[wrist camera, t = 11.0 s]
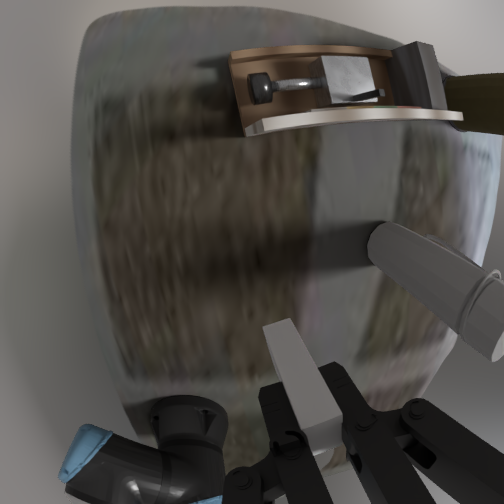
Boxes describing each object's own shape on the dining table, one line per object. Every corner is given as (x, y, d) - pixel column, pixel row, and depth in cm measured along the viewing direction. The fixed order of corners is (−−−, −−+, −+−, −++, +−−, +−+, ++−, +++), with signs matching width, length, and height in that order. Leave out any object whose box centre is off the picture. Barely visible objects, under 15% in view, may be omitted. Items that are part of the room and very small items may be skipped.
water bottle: (372, 275, 40) (483, 378, 17) (356, 234, 37) (493, 334, 14) (414, 244, 40) (531, 321, 17) (402, 203, 37) (542, 268, 14)
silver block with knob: (253, 116, 28) (272, 103, 19) (243, 71, 26) (257, 42, 17) (360, 105, 29) (405, 97, 20) (351, 64, 27) (393, 46, 18)
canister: (447, 133, 34) (546, 148, 15) (434, 74, 30) (532, 66, 11) (478, 130, 34) (562, 144, 16) (467, 78, 30) (551, 77, 12)
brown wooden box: (244, 137, 30) (264, 130, 20) (227, 61, 27) (239, 21, 16) (405, 120, 32) (463, 120, 21) (392, 57, 28) (445, 41, 18)
